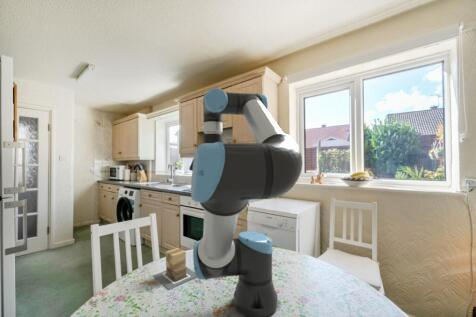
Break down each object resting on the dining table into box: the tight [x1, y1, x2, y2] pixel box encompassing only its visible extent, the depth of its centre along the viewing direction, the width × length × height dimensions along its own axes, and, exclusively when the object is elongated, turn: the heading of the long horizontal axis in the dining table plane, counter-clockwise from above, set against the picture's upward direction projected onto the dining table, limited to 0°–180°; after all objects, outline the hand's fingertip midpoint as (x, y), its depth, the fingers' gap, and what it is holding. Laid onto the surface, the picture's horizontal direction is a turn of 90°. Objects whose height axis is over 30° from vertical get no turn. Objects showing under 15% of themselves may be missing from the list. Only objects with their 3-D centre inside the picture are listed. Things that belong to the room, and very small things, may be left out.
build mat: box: [152, 266, 198, 291], centre depth 92 cm, size 14×14×1 cm
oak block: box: [165, 247, 187, 271], centre depth 93 cm, size 6×6×6 cm
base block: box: [165, 265, 187, 281], centre depth 92 cm, size 8×5×4 cm, turn 45°
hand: (213, 187), depth 85 cm, fingers open, 13 cm apart
